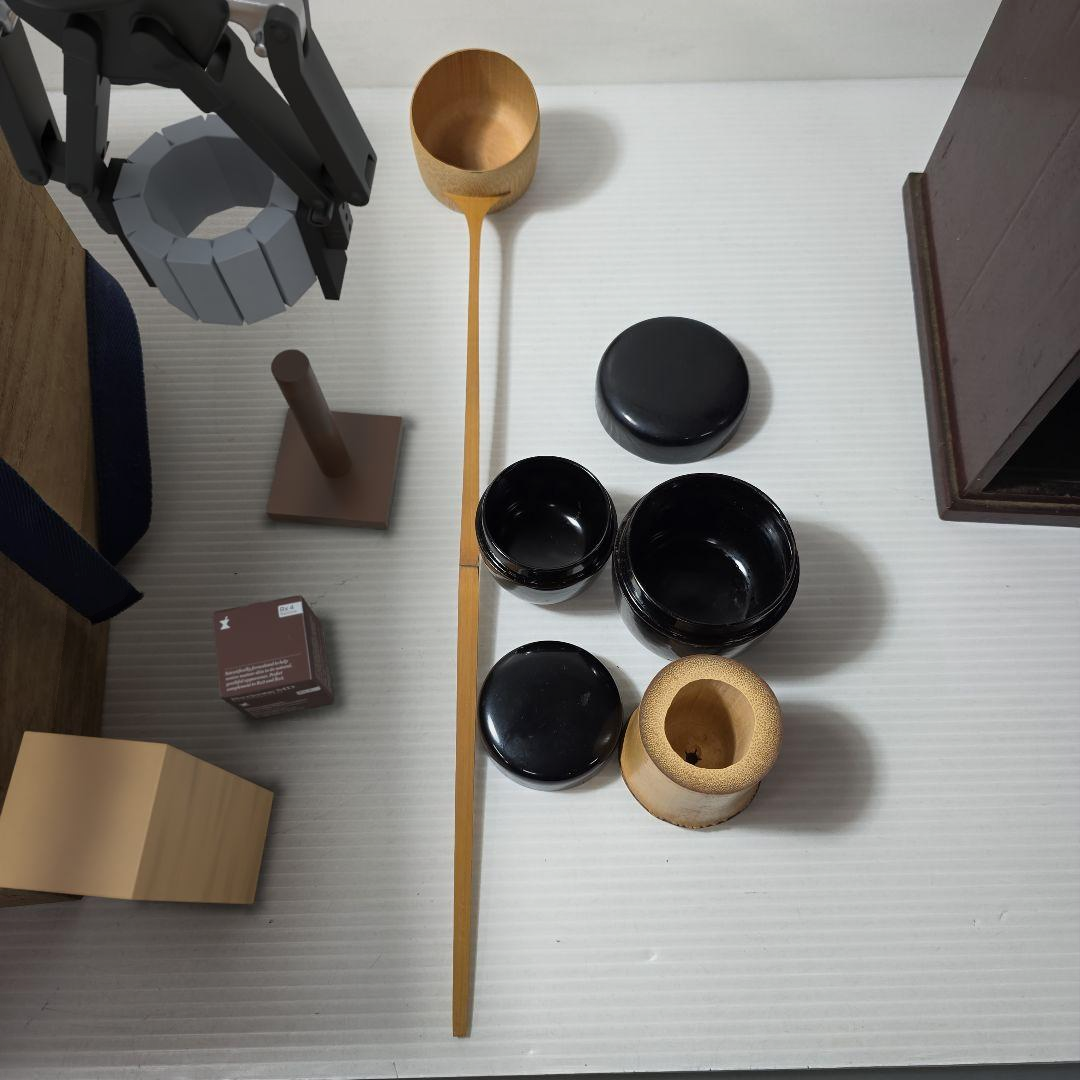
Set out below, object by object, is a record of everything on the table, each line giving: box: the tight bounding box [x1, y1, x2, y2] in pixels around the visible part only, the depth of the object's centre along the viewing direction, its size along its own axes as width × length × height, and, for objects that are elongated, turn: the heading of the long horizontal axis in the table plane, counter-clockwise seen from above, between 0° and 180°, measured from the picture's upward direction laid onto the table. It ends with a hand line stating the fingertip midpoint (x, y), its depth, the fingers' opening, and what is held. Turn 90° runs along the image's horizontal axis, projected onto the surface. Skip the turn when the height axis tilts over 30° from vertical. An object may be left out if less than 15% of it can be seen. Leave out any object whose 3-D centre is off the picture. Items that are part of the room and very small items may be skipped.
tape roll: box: [113, 113, 318, 327], centre depth 47 cm, size 9×9×5 cm
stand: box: [0, 730, 275, 905], centre depth 55 cm, size 7×7×20 cm
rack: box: [265, 348, 405, 531], centre depth 67 cm, size 9×9×16 cm
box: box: [211, 594, 334, 720], centre depth 65 cm, size 6×6×7 cm
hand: (249, 272), depth 51 cm, fingers closed on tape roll, 9 cm apart
